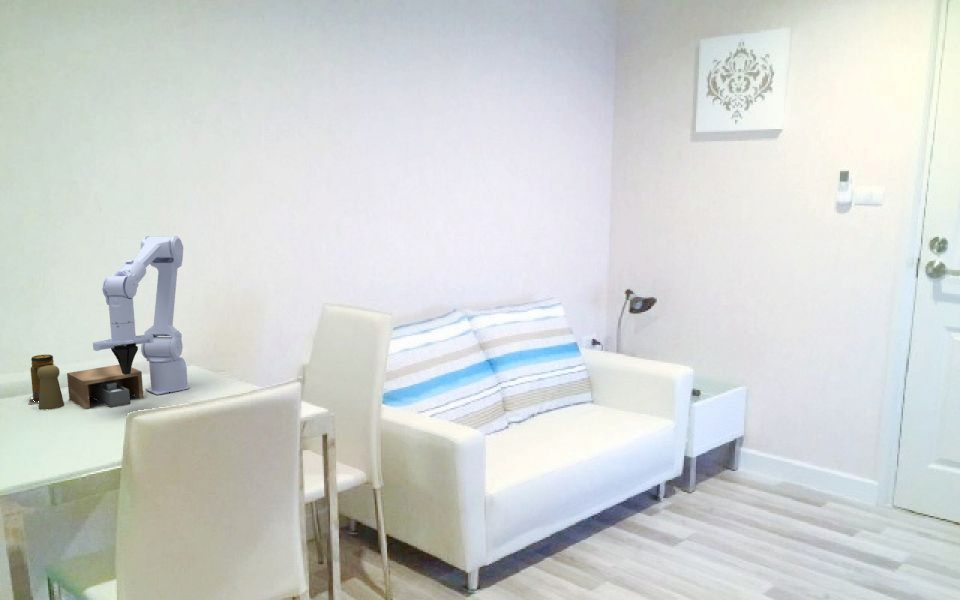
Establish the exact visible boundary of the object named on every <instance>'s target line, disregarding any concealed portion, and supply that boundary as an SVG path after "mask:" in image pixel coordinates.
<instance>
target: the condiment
mask: <svg viewBox="0 0 960 600" xmlns="http://www.w3.org/2000/svg"><path fill="white" fill-rule="evenodd" d="M30 360H31V367H30V376H31V377H30V378H31V379H30V380H31V389H32V396H30V399H29V401H28V405H30V404H32V405H34V404H39V403H38V401H39V392H40V379H39V378H38V375H37V371H38V369H39V368H40V367H43V366H48V365H53V366H56V365H55V363H54V356H53V355H52V354H38V355H33V356H32V357H31V359H30ZM31 397H33V399H31ZM33 400H34V401H35V402H34V401H33Z"/></svg>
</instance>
